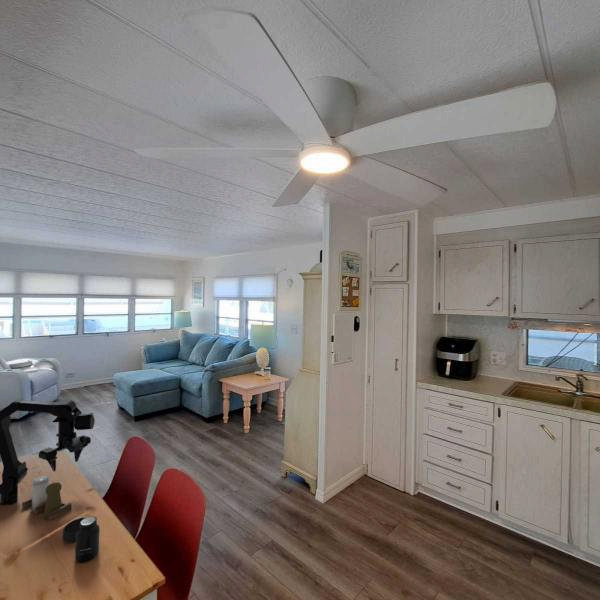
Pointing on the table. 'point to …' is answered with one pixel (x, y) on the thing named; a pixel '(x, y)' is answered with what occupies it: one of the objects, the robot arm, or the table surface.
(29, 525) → the table surface
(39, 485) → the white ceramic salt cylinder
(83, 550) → the supplement bottle
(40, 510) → the walnut slot rack
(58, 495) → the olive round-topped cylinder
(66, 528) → the black round bowl
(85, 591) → the table surface
